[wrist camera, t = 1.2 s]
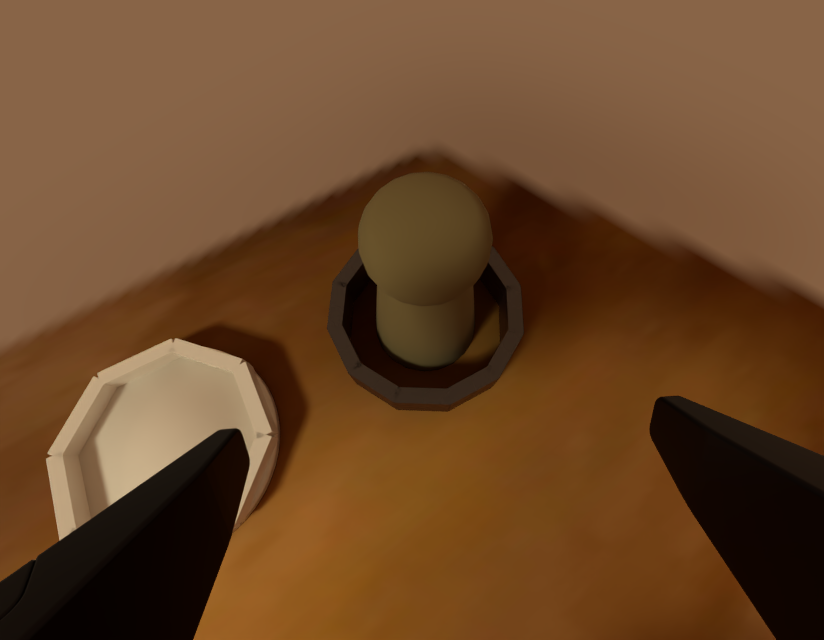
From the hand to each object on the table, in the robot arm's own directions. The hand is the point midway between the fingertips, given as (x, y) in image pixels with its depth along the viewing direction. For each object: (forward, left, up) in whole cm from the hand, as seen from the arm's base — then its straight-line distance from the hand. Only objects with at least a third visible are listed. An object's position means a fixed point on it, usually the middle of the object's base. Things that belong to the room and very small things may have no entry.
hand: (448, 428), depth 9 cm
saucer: (+7, +12, -14) cm, 20 cm away
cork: (+7, -3, -14) cm, 16 cm away
